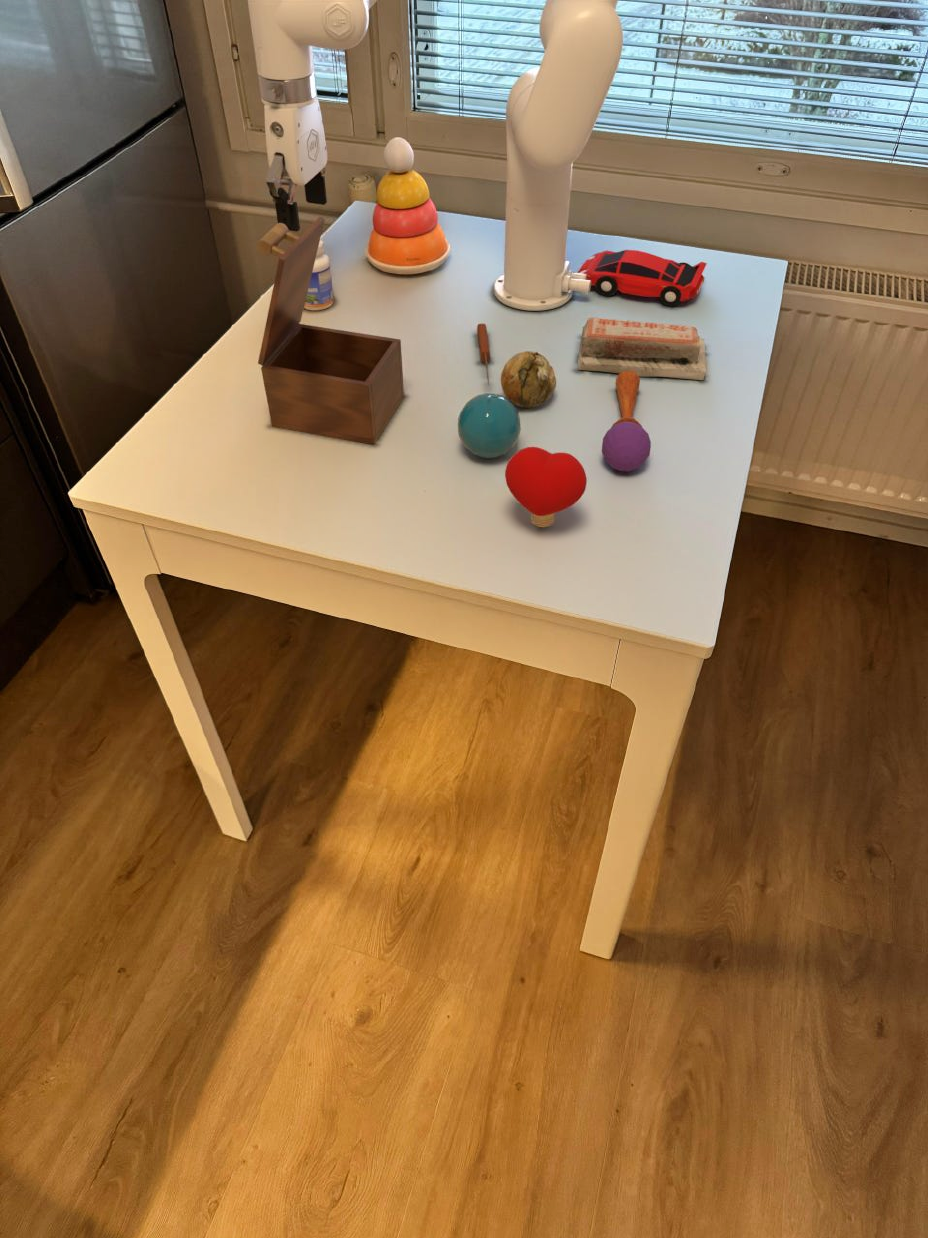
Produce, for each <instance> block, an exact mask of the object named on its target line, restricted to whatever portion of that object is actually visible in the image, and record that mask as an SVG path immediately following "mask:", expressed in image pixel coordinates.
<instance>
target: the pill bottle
mask: <svg viewBox="0 0 928 1238" xmlns="http://www.w3.org/2000/svg"><path fill="white" fill-rule="evenodd" d="M332 280H333V279H332V271H331V263H330V257H329V256H328V255H327V254H326V253H325V247H324V241H323V240H322V239H321V238H320V242H319V246H318V250H317V254H316V258H315V263H314V267H313V271H312V275H311V280H310V284H309V288H308V292H307V296H306V301H305V305H304V309H305V310H308V311H313V312H315V311H316V312H317V311H323V310H326V309H328V308H330V307H331V306H332V305H334V289H333V281H332Z"/></svg>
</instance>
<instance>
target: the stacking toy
mask: <svg viewBox="0 0 928 1238" xmlns="http://www.w3.org/2000/svg"><path fill="white" fill-rule="evenodd" d="M414 161H415V155H414V150H413V148H412V146H411V144H410V143H409V142H408V141H407V140H406V139H405V138H403V137H397V136H396V137H393V138H392V139H390V140H389V141H388V142H387V144H386V145H385V147H384V151H383V162H384V166H385V167H386V169H388V170H389V171H388V172H387V173H385V174H384V175H383V176H382V178H381V180H380V181H379V183H378V186H377V189H376V204H375V206H374V209H373V213H372V226H373V228H372V230H371V233H370V236H369V241H368V244H367V246H366V248H365V256H366V259H367V260H368V262H369V263H370V264H371V265H372V266H373V267H375V268H376V269H378V270H379V271H382V272H384V273H389V274H396V275H415V274H416V275H417V274H421V273H426V272H429V271H433V270H436V269H437V268H439V267H440V266H442V265H443V264H444V263H445V262H446V261H447V260H448V258H449V256H450V255H451V245H450V243H449V241H448V240H447V239H446V235H445V232H444V230H443V227H442V226H441V224H440V223H439V216H438V211H437V208H436V206H435V204H434V202H433V200H432V199H431V198H430V190H429V187H428V184H427V183H426V181H425V179H424V178H423V176H422V175H420V173H418V172H417V171H415V170H414V169H411V168H412V167H413V164H414Z"/></svg>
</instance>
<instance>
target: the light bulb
mask: <svg viewBox="0 0 928 1238" xmlns="http://www.w3.org/2000/svg"><path fill="white" fill-rule="evenodd" d="M504 471H505V472H504V478H505V483H506V487H507V488H508V490H509V492H510V493H511V495H512V496H513V498H514V499H515V500H516V501H517V502H518V503H519V504H520V505H521V506H522V507H523V508H524V509H526V511H529V512H530V513H531V514H530V515H531V516H530V521H531V523H532V524H533V525H534V526H535V527H539V528H548V527H550V526H552V525H553V524H554V521H555V514H556V513H560V512H561V511H564V510H566V509H569V508H570V507H572V506H573V505H575V504H576V503H577V502H578V501H580V500H581V498H582V496H583V495H584V494H585V491H586V490H587V489H586V488H587V482H588V480H587V478H588V477H587V474H586V470H585V469H584V467H583V465H582V463H581V462H580V461H579V460H578V458H576V457H575V456H573V455H572V454H570V453H567V452H554V453H551V452H550V451H548V450H546V449H544V448H542V447H538V446H527V447H524V448H522V449H520V450H518V451H517V452H516V453H514V454H513V455H512V456H511V457H510V458H509V460H508V462H507V463H506V467H505V470H504Z"/></svg>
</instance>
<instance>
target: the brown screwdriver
mask: <svg viewBox="0 0 928 1238" xmlns="http://www.w3.org/2000/svg"><path fill="white" fill-rule="evenodd" d="M487 329H488V328H487V325H486V324H485V323H479V324H477V327H476V332H477V340H478V349H479V356H480V357H479V358H480V362H481V363H482V364H484V365H485V369H486V377H487V384H488V385H487V386H489V385H490V376H489V367H488V363H490V360H491V352H490V351H491V350H490V344H489V336H488V330H487Z"/></svg>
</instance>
